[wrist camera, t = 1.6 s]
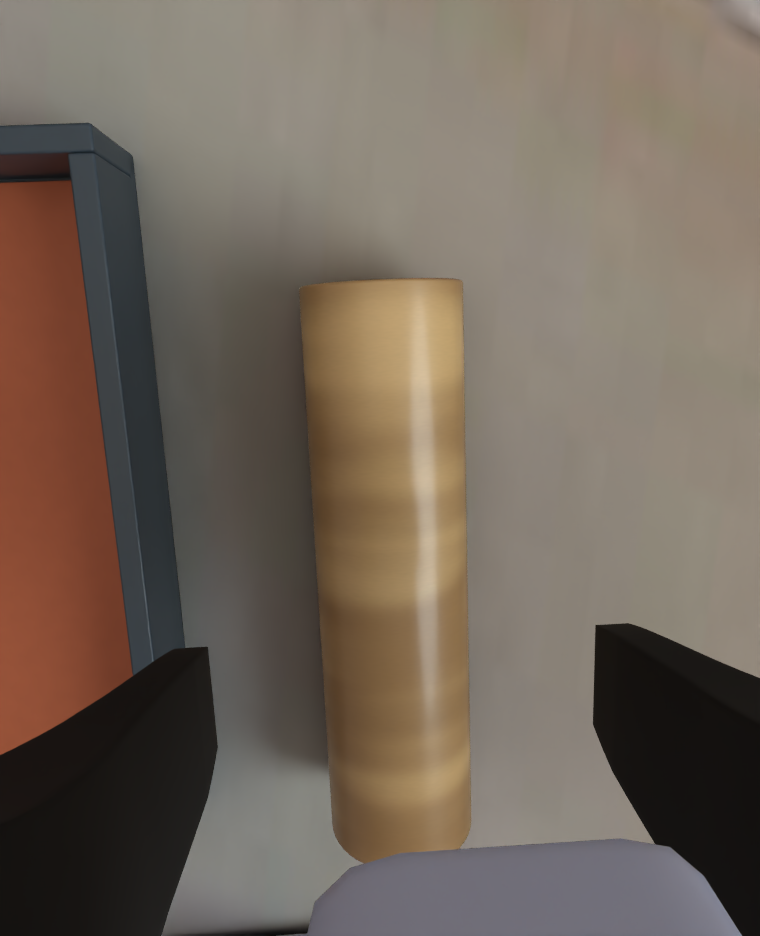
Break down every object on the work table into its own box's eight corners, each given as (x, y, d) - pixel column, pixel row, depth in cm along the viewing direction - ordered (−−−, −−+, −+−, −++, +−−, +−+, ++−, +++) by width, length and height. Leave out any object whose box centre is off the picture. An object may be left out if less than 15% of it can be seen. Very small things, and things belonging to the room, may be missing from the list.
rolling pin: (455, 768, 22) (486, 863, 18) (330, 781, 22) (335, 880, 18) (445, 285, 19) (480, 275, 15) (300, 291, 19) (296, 281, 15)
